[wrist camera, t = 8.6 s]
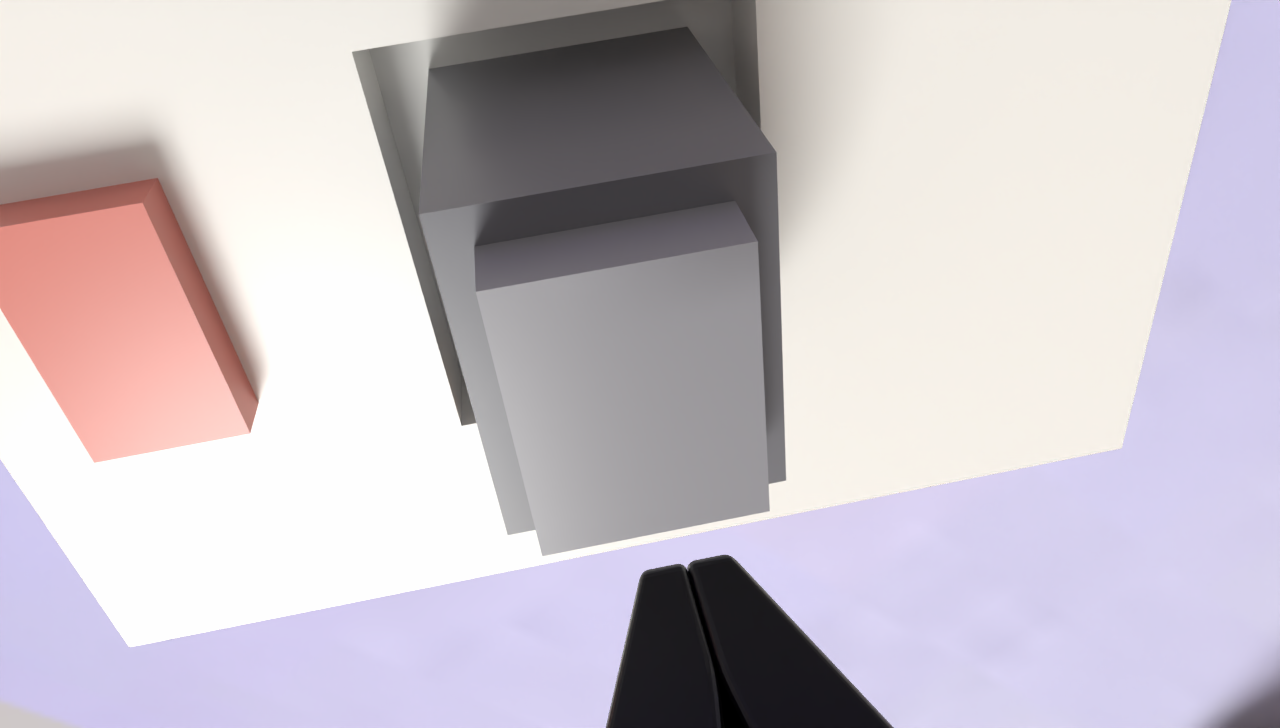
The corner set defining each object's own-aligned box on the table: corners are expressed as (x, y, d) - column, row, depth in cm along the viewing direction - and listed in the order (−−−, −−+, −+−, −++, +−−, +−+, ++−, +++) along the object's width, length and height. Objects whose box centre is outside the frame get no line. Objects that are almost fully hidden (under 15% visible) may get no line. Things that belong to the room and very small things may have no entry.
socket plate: (1182, -418, 14) (1393, -452, 11) (1047, 364, 22) (1145, 474, 19) (-269, -213, 12) (-508, -184, 9) (167, 535, 21) (117, 682, 17)
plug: (687, 26, 15) (803, 190, 10) (709, 300, 18) (806, 530, 13) (429, 69, 14) (415, 258, 9) (495, 339, 17) (510, 589, 12)
